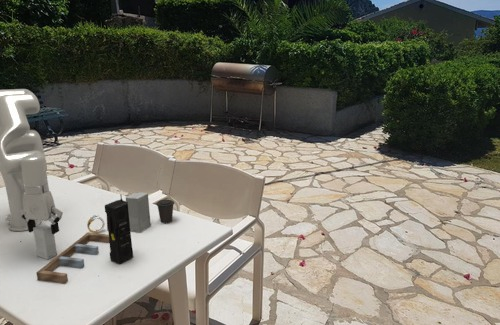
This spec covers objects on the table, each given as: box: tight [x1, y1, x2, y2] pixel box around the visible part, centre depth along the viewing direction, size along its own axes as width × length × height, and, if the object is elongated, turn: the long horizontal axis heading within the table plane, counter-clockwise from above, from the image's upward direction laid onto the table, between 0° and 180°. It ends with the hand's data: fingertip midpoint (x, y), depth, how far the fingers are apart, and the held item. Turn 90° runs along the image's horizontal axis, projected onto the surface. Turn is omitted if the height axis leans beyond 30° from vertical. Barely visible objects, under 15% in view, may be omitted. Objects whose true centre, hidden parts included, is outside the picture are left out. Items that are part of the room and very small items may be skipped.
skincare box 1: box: [32, 223, 58, 260], centre depth 141 cm, size 6×4×12 cm
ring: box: [86, 214, 106, 234], centre depth 160 cm, size 7×3×8 cm, turn 120°
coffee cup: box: [156, 199, 175, 224], centre depth 172 cm, size 8×8×10 cm
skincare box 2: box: [125, 191, 152, 233], centre depth 164 cm, size 8×7×16 cm
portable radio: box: [104, 195, 134, 265], centre depth 137 cm, size 8×6×25 cm
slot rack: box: [36, 232, 110, 285], centre depth 140 cm, size 10×30×3 cm, turn 170°
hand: (44, 231), depth 139 cm, fingers open, 9 cm apart
